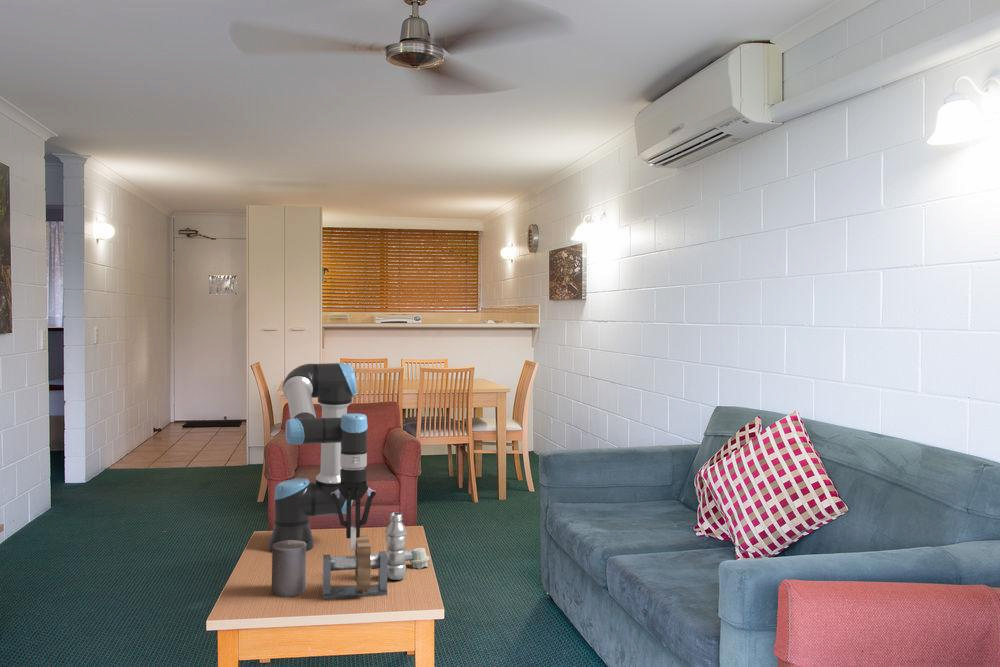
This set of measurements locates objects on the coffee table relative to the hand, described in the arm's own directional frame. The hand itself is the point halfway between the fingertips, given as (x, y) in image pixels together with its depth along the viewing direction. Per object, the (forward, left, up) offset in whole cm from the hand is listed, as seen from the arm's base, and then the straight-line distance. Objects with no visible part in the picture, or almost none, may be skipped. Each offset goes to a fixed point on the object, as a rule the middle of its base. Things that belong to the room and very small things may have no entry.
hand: (352, 549), depth 225 cm
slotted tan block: (0, +3, -10) cm, 10 cm away
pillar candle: (-6, -18, -13) cm, 23 cm away
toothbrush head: (-22, +13, -13) cm, 29 cm away
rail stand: (0, +1, -13) cm, 13 cm away
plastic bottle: (-10, +14, -13) cm, 21 cm away
